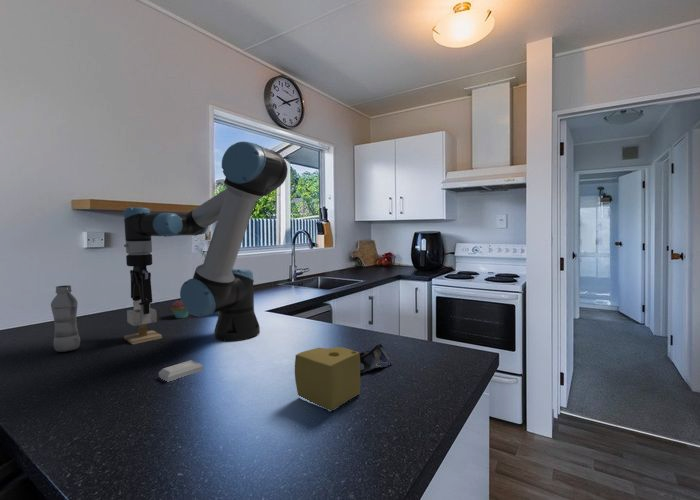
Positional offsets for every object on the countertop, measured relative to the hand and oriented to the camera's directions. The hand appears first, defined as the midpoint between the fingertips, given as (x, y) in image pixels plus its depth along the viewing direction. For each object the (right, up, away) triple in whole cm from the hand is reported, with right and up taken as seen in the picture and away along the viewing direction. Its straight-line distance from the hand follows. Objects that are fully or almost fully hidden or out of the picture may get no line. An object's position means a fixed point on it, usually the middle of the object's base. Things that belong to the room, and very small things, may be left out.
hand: (142, 321), depth 122 cm
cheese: (+66, -8, -44) cm, 80 cm away
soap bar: (+28, -8, -30) cm, 42 cm away
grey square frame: (0, 0, 0) cm, 0 cm away
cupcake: (0, -4, +30) cm, 30 cm away
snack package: (+76, -7, -27) cm, 81 cm away
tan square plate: (0, -6, 0) cm, 6 cm away
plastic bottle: (-17, -7, -11) cm, 21 cm away
